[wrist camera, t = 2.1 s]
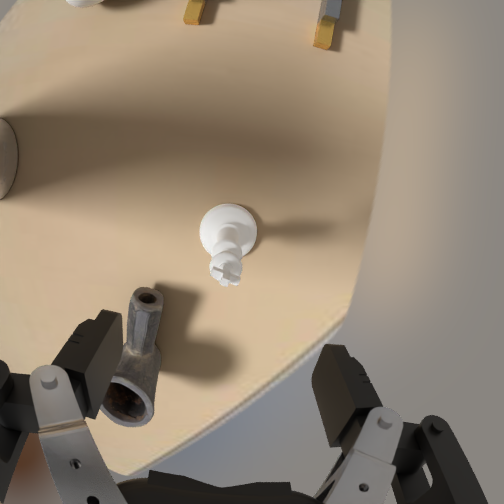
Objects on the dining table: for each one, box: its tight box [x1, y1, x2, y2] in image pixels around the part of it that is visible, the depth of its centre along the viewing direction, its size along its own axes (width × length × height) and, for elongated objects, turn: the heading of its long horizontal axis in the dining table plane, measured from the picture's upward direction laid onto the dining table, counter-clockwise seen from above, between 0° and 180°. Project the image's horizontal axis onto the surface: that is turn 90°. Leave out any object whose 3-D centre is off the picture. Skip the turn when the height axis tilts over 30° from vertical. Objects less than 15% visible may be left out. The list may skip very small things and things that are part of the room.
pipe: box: [100, 287, 164, 427], centre depth 26 cm, size 6×13×8 cm, turn 162°
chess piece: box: [200, 203, 257, 287], centre depth 21 cm, size 5×5×10 cm
